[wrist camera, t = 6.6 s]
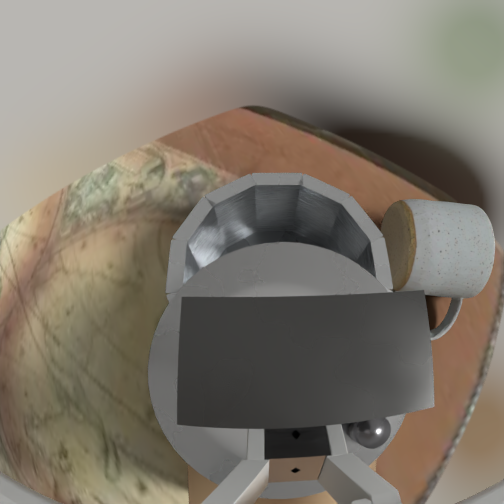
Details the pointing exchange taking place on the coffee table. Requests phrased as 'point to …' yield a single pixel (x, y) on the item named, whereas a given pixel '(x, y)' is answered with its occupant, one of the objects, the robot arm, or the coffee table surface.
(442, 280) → the ceramic mug
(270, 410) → the lid
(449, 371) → the coffee table surface
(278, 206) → the pot
